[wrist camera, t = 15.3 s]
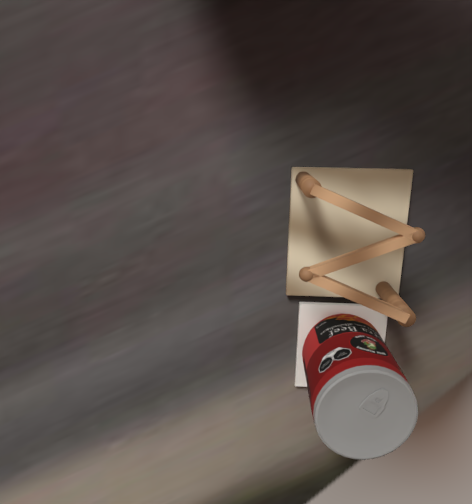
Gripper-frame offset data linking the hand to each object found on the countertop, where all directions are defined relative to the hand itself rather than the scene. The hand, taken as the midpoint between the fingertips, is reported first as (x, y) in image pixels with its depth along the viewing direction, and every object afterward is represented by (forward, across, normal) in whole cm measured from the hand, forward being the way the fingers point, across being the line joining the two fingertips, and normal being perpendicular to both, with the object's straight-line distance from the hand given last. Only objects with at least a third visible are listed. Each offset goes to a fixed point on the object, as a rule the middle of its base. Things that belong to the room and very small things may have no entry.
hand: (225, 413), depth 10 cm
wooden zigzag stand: (+32, +8, -2) cm, 33 cm away
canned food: (+31, +9, -14) cm, 35 cm away
